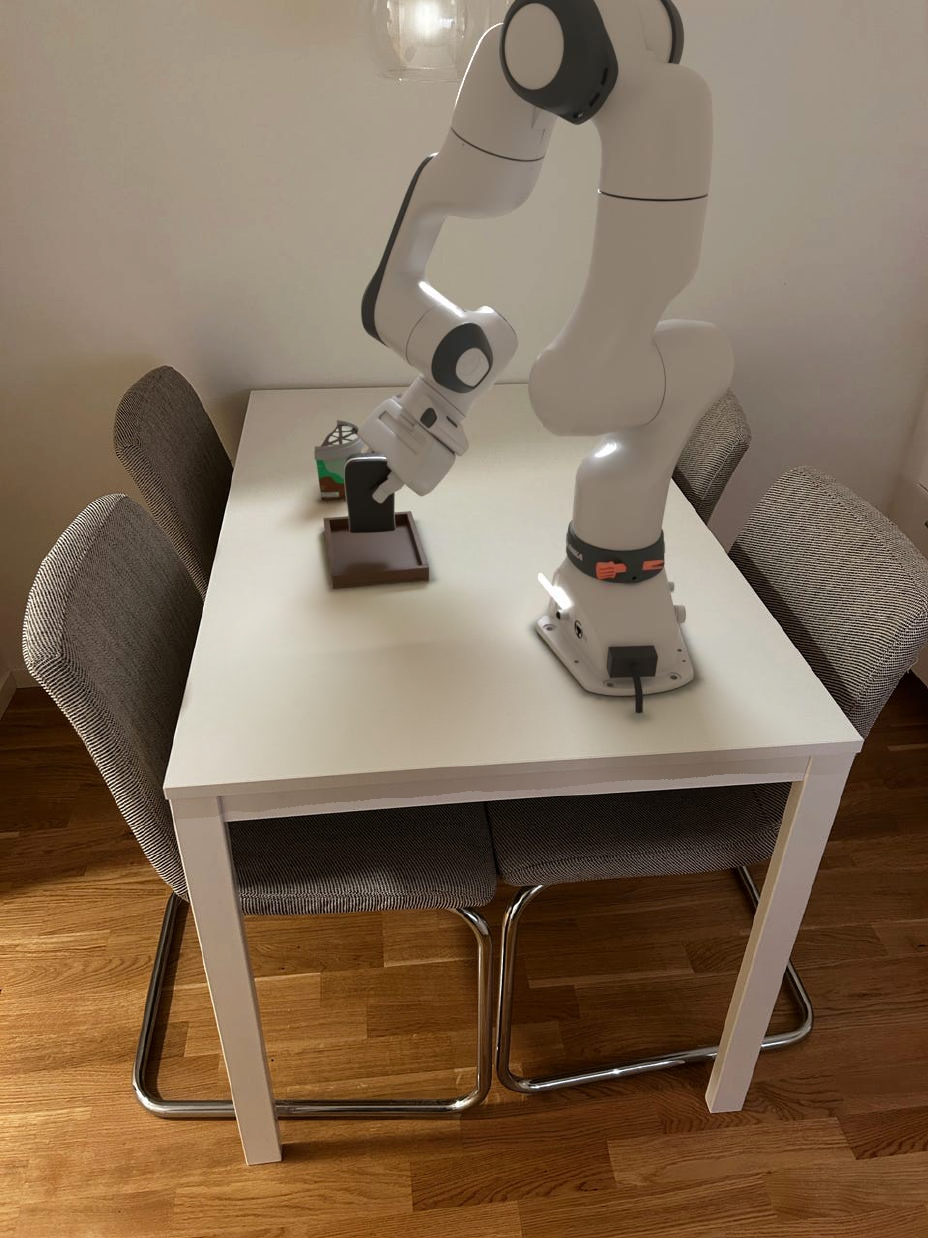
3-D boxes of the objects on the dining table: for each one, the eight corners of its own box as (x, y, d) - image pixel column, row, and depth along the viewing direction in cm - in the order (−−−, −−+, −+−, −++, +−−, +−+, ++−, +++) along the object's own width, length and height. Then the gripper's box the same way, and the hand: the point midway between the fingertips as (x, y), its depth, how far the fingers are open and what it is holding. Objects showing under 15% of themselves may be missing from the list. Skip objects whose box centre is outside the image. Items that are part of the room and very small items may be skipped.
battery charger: (396, 520, 139) (392, 448, 133) (396, 532, 136) (393, 459, 129) (348, 522, 138) (343, 450, 132) (348, 534, 135) (342, 461, 129)
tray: (429, 580, 133) (429, 567, 132) (333, 589, 131) (331, 576, 130) (411, 522, 148) (411, 510, 146) (324, 529, 145) (323, 517, 144)
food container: (354, 508, 151) (351, 450, 146) (318, 504, 152) (313, 447, 147) (376, 476, 162) (373, 421, 156) (341, 473, 163) (337, 418, 157)
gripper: (385, 376, 137) (326, 450, 139) (444, 426, 122) (377, 508, 124) (414, 401, 141) (356, 472, 143) (474, 452, 126) (409, 531, 128)
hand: (366, 490), depth 133 cm, fingers closed on battery charger, 5 cm apart
